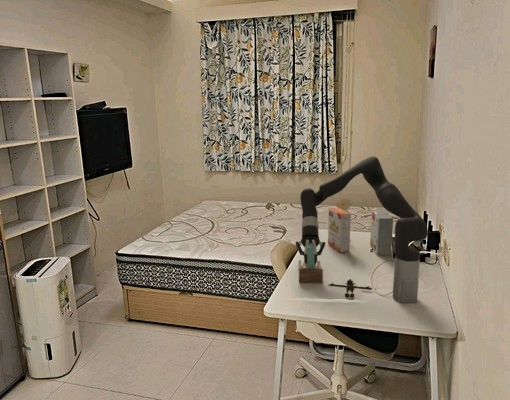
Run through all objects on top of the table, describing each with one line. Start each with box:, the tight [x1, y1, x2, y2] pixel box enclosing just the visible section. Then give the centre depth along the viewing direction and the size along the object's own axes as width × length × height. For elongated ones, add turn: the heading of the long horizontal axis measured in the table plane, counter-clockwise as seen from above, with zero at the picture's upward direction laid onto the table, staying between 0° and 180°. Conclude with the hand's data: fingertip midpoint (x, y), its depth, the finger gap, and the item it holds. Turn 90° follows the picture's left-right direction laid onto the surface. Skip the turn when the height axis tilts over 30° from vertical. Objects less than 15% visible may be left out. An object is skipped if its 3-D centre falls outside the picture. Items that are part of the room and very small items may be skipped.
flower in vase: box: [335, 196, 352, 213], centre depth 241 cm, size 13×11×25 cm
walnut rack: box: [298, 259, 324, 284], centre depth 193 cm, size 20×10×7 cm, turn 175°
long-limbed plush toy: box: [328, 278, 373, 301], centre depth 177 cm, size 18×4×14 cm
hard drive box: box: [369, 209, 394, 256], centre depth 224 cm, size 16×8×20 cm, turn 178°
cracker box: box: [327, 207, 352, 253], centre depth 228 cm, size 14×6×21 cm, turn 17°
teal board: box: [307, 243, 315, 269], centre depth 188 cm, size 6×3×15 cm, turn 175°
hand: (310, 263), depth 186 cm, fingers closed on teal board, 3 cm apart
